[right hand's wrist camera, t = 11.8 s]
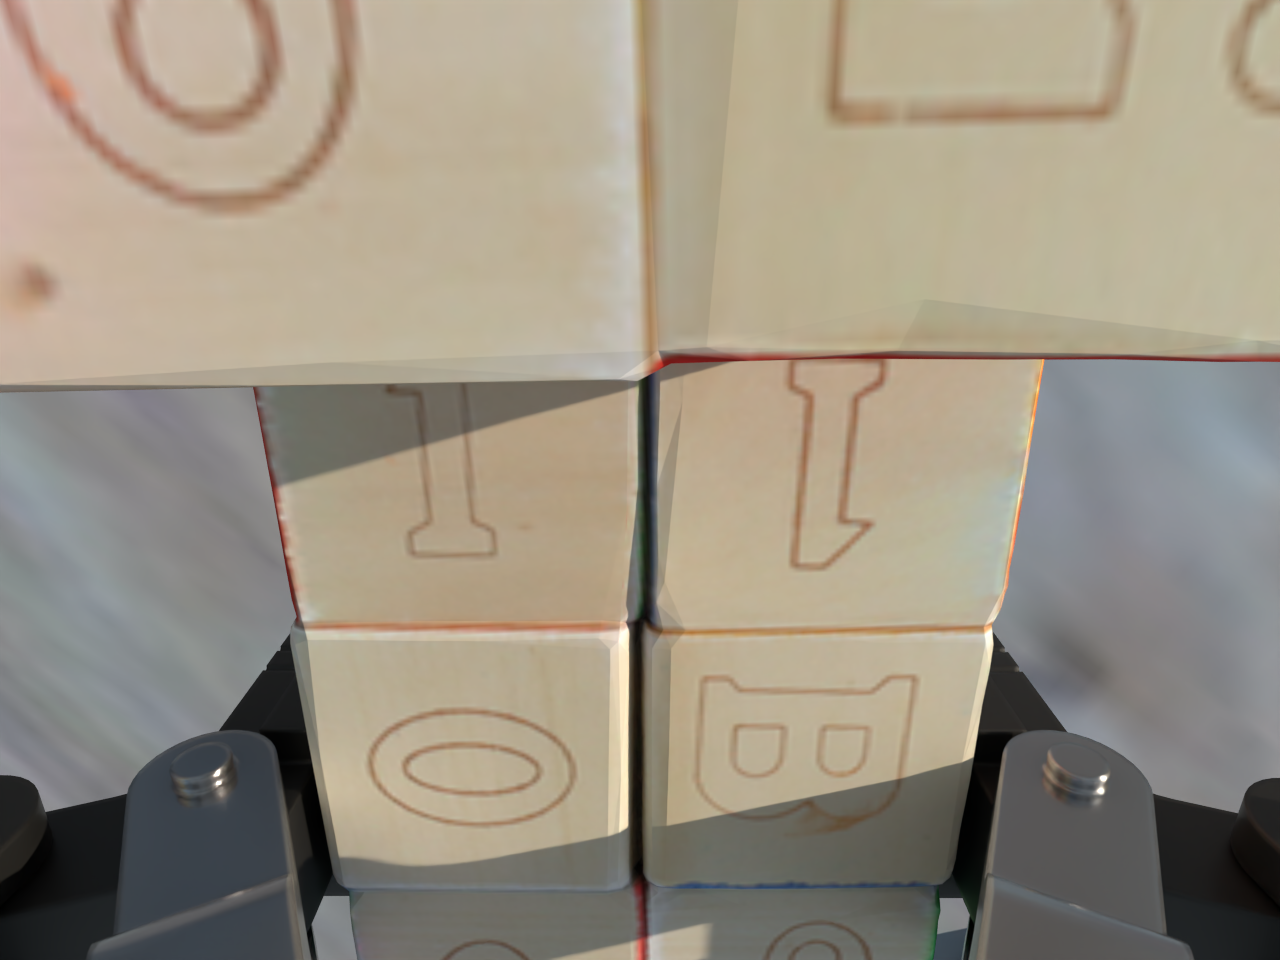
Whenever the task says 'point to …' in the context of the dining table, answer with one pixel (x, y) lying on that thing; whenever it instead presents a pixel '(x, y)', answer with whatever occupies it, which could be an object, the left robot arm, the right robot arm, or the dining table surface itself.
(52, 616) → the dining table surface
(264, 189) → the stack of blocks
